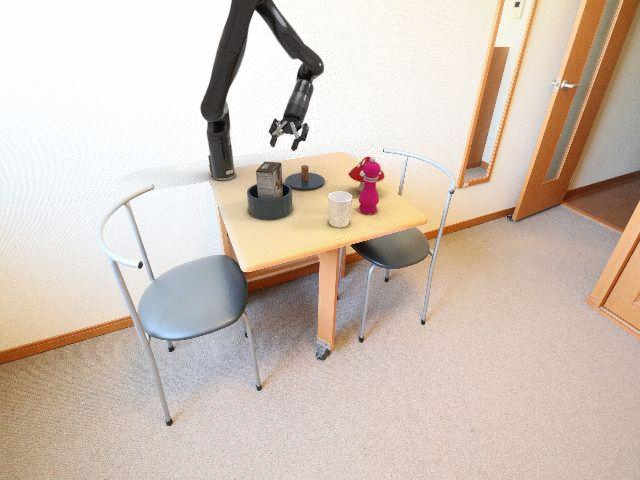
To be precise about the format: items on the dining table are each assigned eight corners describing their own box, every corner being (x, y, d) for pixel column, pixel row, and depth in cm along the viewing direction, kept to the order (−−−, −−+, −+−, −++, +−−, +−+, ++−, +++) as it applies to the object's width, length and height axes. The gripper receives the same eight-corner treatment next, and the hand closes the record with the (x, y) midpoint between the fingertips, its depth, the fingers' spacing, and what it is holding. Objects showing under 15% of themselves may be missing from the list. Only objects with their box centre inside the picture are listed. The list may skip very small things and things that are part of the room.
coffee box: (267, 201, 133) (264, 160, 124) (284, 203, 132) (282, 162, 123) (259, 213, 125) (255, 170, 117) (276, 215, 124) (273, 171, 116)
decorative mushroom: (341, 195, 139) (343, 159, 131) (354, 183, 150) (356, 148, 142) (376, 203, 134) (380, 165, 126) (386, 189, 145) (390, 153, 137)
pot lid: (292, 193, 140) (291, 176, 137) (280, 177, 153) (279, 162, 149) (330, 187, 146) (331, 170, 142) (316, 172, 159) (316, 157, 155)
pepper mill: (356, 206, 132) (360, 153, 121) (375, 205, 132) (381, 153, 122) (359, 215, 126) (364, 161, 115) (379, 214, 126) (386, 161, 116)
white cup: (343, 231, 117) (345, 203, 111) (323, 224, 120) (323, 197, 115) (354, 221, 122) (356, 194, 117) (334, 215, 126) (335, 189, 120)
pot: (254, 223, 120) (252, 203, 116) (245, 203, 133) (242, 185, 128) (298, 215, 125) (297, 196, 121) (284, 197, 138) (284, 179, 133)
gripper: (275, 99, 127) (260, 140, 125) (311, 104, 122) (296, 146, 120) (283, 112, 134) (269, 150, 132) (317, 116, 129) (303, 156, 127)
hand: (282, 148), depth 126 cm, fingers open, 8 cm apart
